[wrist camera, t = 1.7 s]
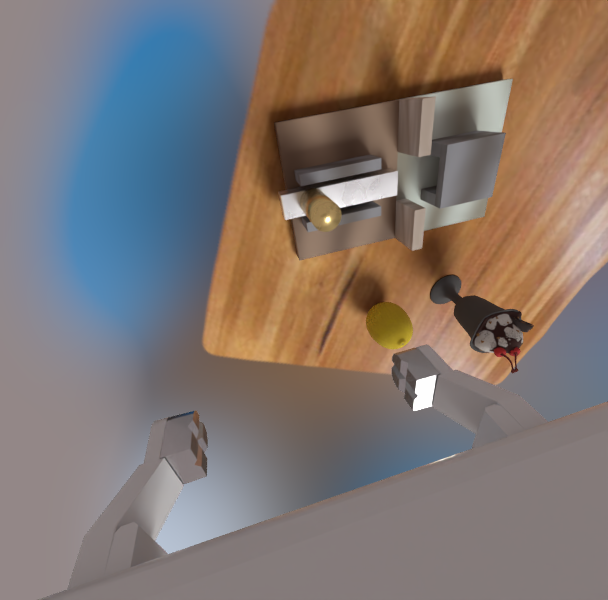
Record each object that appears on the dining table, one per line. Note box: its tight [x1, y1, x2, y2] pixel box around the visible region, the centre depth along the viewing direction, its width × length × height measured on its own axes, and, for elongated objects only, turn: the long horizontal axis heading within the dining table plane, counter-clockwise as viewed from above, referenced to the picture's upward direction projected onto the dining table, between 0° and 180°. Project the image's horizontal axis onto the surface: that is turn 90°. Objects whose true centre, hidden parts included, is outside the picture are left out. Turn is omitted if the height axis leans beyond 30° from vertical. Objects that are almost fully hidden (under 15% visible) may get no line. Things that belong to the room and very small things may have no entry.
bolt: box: [278, 168, 398, 232], centre depth 28 cm, size 12×3×7 cm, turn 99°
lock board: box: [274, 79, 513, 260], centre depth 31 cm, size 24×14×5 cm, turn 99°
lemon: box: [366, 302, 413, 349], centre depth 40 cm, size 6×6×8 cm
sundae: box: [430, 275, 533, 373], centre depth 38 cm, size 7×7×15 cm
